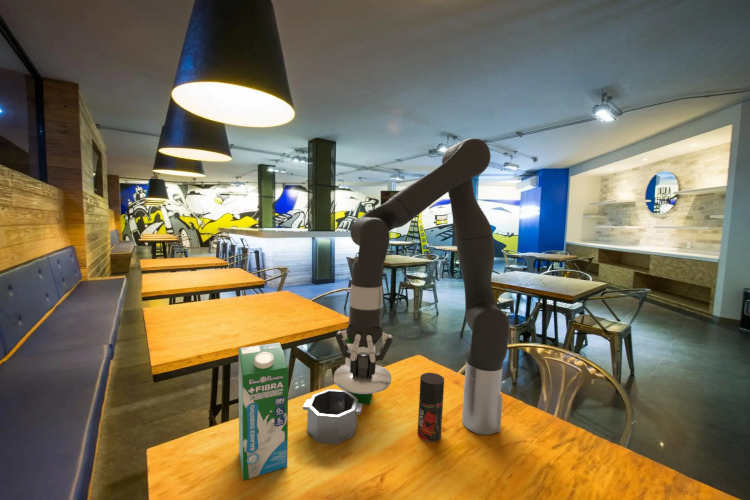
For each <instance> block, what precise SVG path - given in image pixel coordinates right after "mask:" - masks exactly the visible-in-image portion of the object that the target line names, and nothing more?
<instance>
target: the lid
mask: <svg viewBox="0 0 750 500" xmlns="http://www.w3.org/2000/svg"><path fill="white" fill-rule="evenodd" d="M369 362H370V355H369V353H367V352H360V353H358V354H357V364H356V376H353V373H351V372H350V364H346V365H345V364H343V365H341V366H339V367H338V368H337V369H336V370H335V371H334V374H333V382H334V384H335V385H336V386H337V387H338V388H339V389H340V390H345V391H348V392H351V393H357V394H372V393H373V394H376V393H380V392H383V391H384V390H386V389H387V388H389V387H390V385H391V384H392V374H391V372H390V371H389V370H388V369H387V368H385V367H384V366H381V365H379V364H376V367H375V374H374V375H372V377H369ZM373 394H372V395H373Z"/></svg>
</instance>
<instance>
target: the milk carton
mask: <svg viewBox="0 0 750 500" xmlns="http://www.w3.org/2000/svg"><path fill="white" fill-rule="evenodd" d="M288 426H289V366H288V363H287V360H286V356H285V353H284V351H283V347H282V345H281V342H275V343H274V342H272V343H265V344H260V345H259V344H257V345H253V346H246V347H239V348H238V453H239V461H240V469H241V475H242V481H246V480H249V479H253V478H255V477H258V476H261V475H262V476H263V475H265V474H268V473H271V472H272V473H273V472H275V471H278V470H281V469H283V468H287V467H288V446H289V445H288V442H289V441H288V435H289V434H288V432H289V431H288V429H289V427H288Z"/></svg>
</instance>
